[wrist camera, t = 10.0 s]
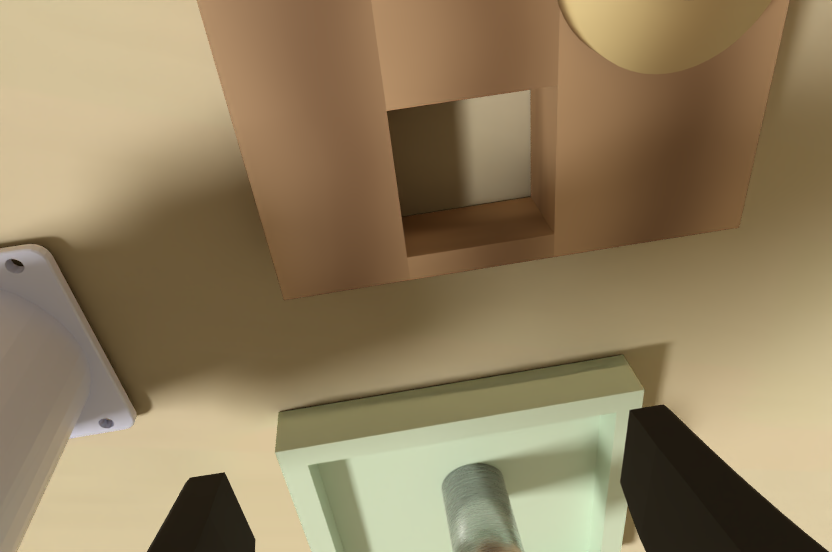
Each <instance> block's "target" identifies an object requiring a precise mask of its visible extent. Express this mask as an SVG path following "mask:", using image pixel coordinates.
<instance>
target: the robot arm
mask: <svg viewBox="0 0 832 552" xmlns="http://www.w3.org/2000/svg"><path fill="white" fill-rule="evenodd" d="M11 259H16V260H18V261H20V262H21V263H22V264H23V265H24V267H22V266H18V265H15V264H14V263H13V262H12V261H11ZM136 417H137V414H136V411H135V409H134V407H133V405H132V403H131V402H130V400H129V398H128V396H127V394H126V392H125V390H124V388H123V387H122V385H121V383H120V381H119V379H118V377H117V375H116V374H115V372H114V370H113V368H112V366H111V364H110V362H109V360H108V359H107V357H106V355H105V353H104V351H103V349H102V347H101V345H100V344H99V342H98V340H97V338H96V336H95V334H94V332H93V331H92V329H91V327H90V325H89V323H88V321H87V319H86V317H85V316H84V314H83V312H82V310H81V308H80V306H79V304H78V303H77V301H76V299H75V297H74V295H73V293H72V291H71V289H70V288H69V286H68V284H67V282H66V280H65V278H64V276H63V274H62V273H61V271H60V269H59V267H58V265H57V263H56V261H55V260H54V258H53V256H52V254H51V253H50V252H49V251H48V250H47V249H46V248H44V247H43V246H40V245H37V244H25V245H18V246H12V247H5V248H0V552H17V550H18V548H19V546H20V544H21V542H22V540H23V537H24V535H25V533H26V531H27V529H28V526H29V524H30V522H31V520H32V518H33V516H34V513H35V511H36V509H37V507H38V505H39V503H40V500H41V498H42V496H43V494H44V492H45V490H46V487H47V485H48V483H49V481H50V479H51V477H52V474H53V472H54V470H55V468H56V466H57V463H58V461H59V459H60V457H61V455H62V453H63V450H64V448H65V446H66V444H67V442H68V440H69V439H70V438H76V437H82V436H88V435H94V434H100V433H106V432H112V431H118V430H124V429H128V428H130V427H132V426H133V425H134V422H135V419H136ZM104 418H108V419H110V420H107V419H104ZM620 484H621V487H622V490H623V493H624V496H625V498H626V501H627V504H628V507H629V510H630V513H631V516H632V518H633V521H634V524H635V527H636V529H637V532H638V535H639V537H640V540H641V542H642V544H643V546H644V548H645V550H646V552H829V551H827V550H826V549H825V548H824V547H822V546H821V545H820V544H819V543H817V542H816V541H815V540H814V539H812V538H811V537H810V536H809V535H808V534H806V533H805V532H804V531H803V530H801V529H800V528H799V527H798V526H797V525H796V524H794V523H793V522H792V521H791V520H790V519H788V518H787V517H786V516H785V515H784V514H782V513H781V512H780V511H779V510H778V509H777V508H776V507H774V506H773V505H772V504H771V503H770V502H769V501H768V500H767V499H765V498H764V497H763V496H762V495H761V494H760V493H759V492H757V491H756V490H755V489H754V488H753V487H752V486H751V485H749V484H748V483H747V482H746V481H745V480H744V479H743V478H742V477H741V476H739V475H738V474H737V473H736V472H735V471H734V470H733V469H732V468H731V467H730V466H728V465H727V464H726V463H725V462H724V461H723V460H722V459H721V458H720V457H719V456H718V455H717V454H716V453H715V452H713V451H712V450H711V449H710V448H709V447H708V446H707V445H706V444H705V443H704V442H703V441H702V440H701V439H700V438H699V437H698V436H697V435H696V434H695V433H693V432H692V431H691V430H690V429H689V428H688V427H687V426H686V425H685V424H684V423H683V422H682V421H681V420H680V419H679V418H678V417H677V416H676V415H675V414H674V413H673V412H672V411H671V410H670V409H669V408H667V407H666V406H665V405H658V406H651V407H645V408H638V409H632V410H630V411H629V418H628V426H627V433H626V441H625V448H624V455H623V463H622V470H621V478H620ZM147 552H255V538H254V536H253V533H252V531H251V529H250V527H249V525H248V522H247V520H246V518H245V516H244V514H243V511H242V509H241V507H240V505H239V503H238V501H237V498H236V496H235V494H234V492H233V490H232V487H231V485H230V483H229V481H228V479H227V476H226V474H225V472H224V473H218V474H211V475H205V476H198V477H192V478H189V480H188V481H187V482H186V483H185V485H184V487H183V489H182V490H181V492H180V494H179V496H178V498H177V499H176V501H175V503H174V505H173V507H172V508H171V510H170V512H169V514H168V516H167V517H166V519H165V521H164V523H163V525H162V526H161V528H160V530H159V532H158V533H157V535H156V537H155V539H154V540H153V542H152V544H151V545H150V547H149V549H148V551H147Z"/></svg>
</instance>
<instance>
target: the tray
mask: <svg viewBox="0 0 832 552" xmlns="http://www.w3.org/2000/svg"><path fill="white" fill-rule="evenodd" d="M643 397H644V388H643V386H642V385H641V383H640V381H639V380H638V378H637V377H636V375H635V373H634V372H633V370H632V368H631V367H630V365H629V364H628V362H627V360H626V359H625V357H624V355H619V356H613V357H607V358H601V359H595V360H589V361H583V362H577V363H571V364H565V365H559V366H553V367H547V368H541V369H535V370H529V371H523V372H517V373H511V374H505V375H499V376H493V377H487V378H481V379H475V380H469V381H463V382H457V383H451V384H446V385H440V386H434V387H428V388H422V389H416V390H410V391H404V392H398V393H392V394H386V395H380V396H374V397H368V398H362V399H356V400H350V401H344V402H338V403H332V404H326V405H320V406H314V407H308V408H302V409H296V410H290V411H284V412H279V415H278V425H277V436H276V447H275V454H276V457H277V459H278V462H279V465H280V467H281V470H282V473H283V476H284V478H285V481H286V484H287V486H288V489H289V492H290V495H291V497H292V500H293V503H294V506H295V508H296V511H297V514H298V516H299V519H300V522H301V525H302V527H303V530H304V533H305V535H306V538H307V541H308V544H309V546H310V549H311V552H453V550H452V545H451V539H450V534H449V528H448V523H447V517H446V512H445V506H444V501H443V495H442V489H441V487H442V483H443V480H444V479H445V478H446V476H447V475H448V474H449V473H451V472H452V471H454V470H455V469H457V468H459V467H462V466H465V465H469V464H477V463H480V464H488V465H491V466H494V467H496V468H497V469H499V470H500V471H501V473H502V475H503V478H504V482H505V485H506V489H507V492H508V496H509V499H510V503H511V506H512V510H513V513H514V517H515V520H516V524H517V527H518V531H519V534H520V538H521V541H522V545H523V548H524V552H621V547H622V540H623V533H624V526H625V520H626V513H627V506H628V504H627V501H626V498H625V496H624V493H623V490H622V487H621V484H620V478H621V470H622V463H623V455H624V448H625V441H626V433H627V426H628V418H629V411H630V410H632V409H638V408H642V404H643Z"/></svg>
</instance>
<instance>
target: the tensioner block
mask: <svg viewBox="0 0 832 552" xmlns="http://www.w3.org/2000/svg"><path fill="white" fill-rule="evenodd" d="M789 1H790V0H197V3H198V7H199V10H200V13H201V17H202V20H203V24H204V27H205V31H206V34H207V37H208V41H209V44H210V48H211V51H212V55H213V58H214V61H215V65H216V68H217V72H218V75H219V79H220V82H221V85H222V89H223V92H224V96H225V99H226V103H227V106H228V109H229V113H230V116H231V120H232V123H233V127H234V130H235V133H236V137H237V140H238V144H239V147H240V151H241V154H242V158H243V161H244V164H245V168H246V171H247V175H248V178H249V182H250V185H251V188H252V192H253V195H254V199H255V202H256V206H257V209H258V212H259V216H260V219H261V223H262V226H263V230H264V233H265V236H266V240H267V243H268V247H269V250H270V254H271V257H272V260H273V264H274V267H275V271H276V274H277V278H278V281H279V285H280V288H281V291H282V295H283V298H284V300H288V299H295V298H301V297H307V296H313V295H320V294H326V293H332V292H338V291H345V290H351V289H357V288H363V287H370V286H376V285H382V284H388V283H395V282H401V281H407V280H413V279H420V278H426V277H432V276H438V275H445V274H451V273H457V272H463V271H470V270H476V269H482V268H488V267H495V266H501V265H507V264H513V263H519V262H526V261H532V260H538V259H544V258H551V257H557V256H563V255H569V254H576V253H582V252H588V251H594V250H601V249H607V248H613V247H619V246H626V245H632V244H638V243H644V242H651V241H657V240H663V239H669V238H676V237H682V236H688V235H694V234H701V233H707V232H713V231H719V230H726V229H732V228H738V227H739V225H740V221H741V216H742V212H743V207H744V203H745V198H746V194H747V189H748V185H749V180H750V176H751V171H752V167H753V162H754V158H755V154H756V149H757V145H758V140H759V136H760V131H761V127H762V122H763V118H764V113H765V109H766V104H767V100H768V95H769V91H770V86H771V82H772V77H773V73H774V68H775V64H776V59H777V55H778V50H779V46H780V41H781V37H782V32H783V28H784V23H785V19H786V15H787V10H788V6H789ZM524 90H531V197H527V198H520V199H514V200H507V201H501V202H495V203H488V204H482V205H475V206H469V207H463V208H456V209H450V210H443V211H437V212H430V213H424V214H418V215H411V216H405V217H401V210H400V203H399V196H398V189H397V182H396V174H395V167H394V160H393V153H392V146H391V139H390V132H389V124H388V117H387V111H390V110H396V109H403V108H410V107H416V106H423V105H430V104H437V103H443V102H450V101H457V100H463V99H470V98H477V97H484V96H490V95H497V94H504V93H511V92H517V91H524Z"/></svg>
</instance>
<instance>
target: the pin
mask: <svg viewBox="0 0 832 552" xmlns="http://www.w3.org/2000/svg"><path fill="white" fill-rule="evenodd" d="M441 489H442V495H443V501H444V506H445V512H446V517H447V523H448V528H449V534H450V539H451V545H452V550H453V552H524V548H523V545H522V541H521V538H520V534H519V531H518V527H517V524H516V520H515V517H514V513H513V510H512V506H511V503H510V499H509V496H508V492H507V489H506V485H505V482H504V478H503V475H502V473H501V471H500V470H499V469H497V468H496V467H494V466H491V465H488V464H480V463H477V464H469V465H465V466H462V467H459V468H457V469H455V470H454V471H452V472H451V473H449V474H448V475H447V476H446V478H445V479H444V480H443V483H442V487H441Z"/></svg>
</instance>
